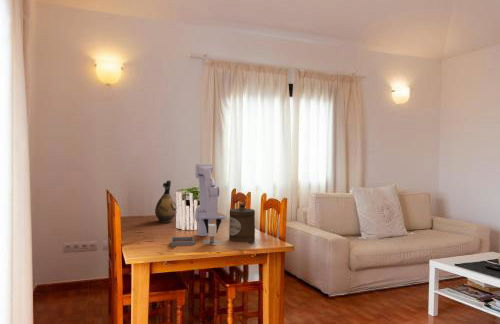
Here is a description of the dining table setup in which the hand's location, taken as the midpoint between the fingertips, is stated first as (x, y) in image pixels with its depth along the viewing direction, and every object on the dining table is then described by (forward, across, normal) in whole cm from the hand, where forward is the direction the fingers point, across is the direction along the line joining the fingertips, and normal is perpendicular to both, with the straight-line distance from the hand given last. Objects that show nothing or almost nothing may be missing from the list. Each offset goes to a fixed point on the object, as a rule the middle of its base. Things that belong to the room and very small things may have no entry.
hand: (212, 232), depth 220 cm
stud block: (+6, 0, 0) cm, 6 cm away
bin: (+6, -16, +1) cm, 17 cm away
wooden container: (+7, +18, +6) cm, 20 cm away
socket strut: (+2, 0, 0) cm, 2 cm away
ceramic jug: (+7, -26, +78) cm, 82 cm away
